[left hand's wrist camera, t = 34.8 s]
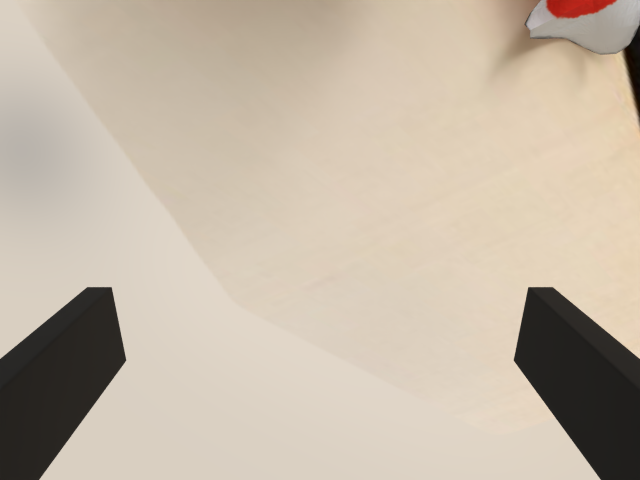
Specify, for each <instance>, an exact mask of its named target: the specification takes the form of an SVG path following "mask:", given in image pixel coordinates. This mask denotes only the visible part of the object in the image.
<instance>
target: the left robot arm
mask: <svg viewBox="0 0 640 480" xmlns="http://www.w3.org/2000/svg"><path fill="white" fill-rule="evenodd" d="M125 361H126V357H125V352H124V347H123V342H122V337H121V332H120V327H119V322H118V317H117V312H116V307H115V302H114V297H113V292H112V288H111V287H87V288H86V289H85V290H83V291H82V292H81V293H80V294H79V295H77V296H76V297H75V298H74V299H72V300H71V301H70V302H69V303H68V304H66V305H65V306H64V307H63V308H62V309H60V310H59V311H58V312H57V313H56V314H54V315H53V316H52V317H51V318H50V319H48V320H47V321H46V322H45V323H43V324H42V325H41V326H40V327H39V328H37V329H36V330H35V331H34V332H33V333H31V334H30V335H29V336H28V337H26V338H25V339H24V340H23V341H22V342H20V343H19V344H18V345H17V346H15V347H14V348H13V349H12V350H11V351H9V352H8V353H7V354H6V355H5V356H3V357H2V358H1V359H0V480H39V479H40V478H41V476H42V475H43V473H44V472H45V471H46V470H47V468H48V467H49V465H50V464H51V463H52V461H53V460H54V459H55V457H56V456H57V454H58V453H59V452H60V450H61V449H62V448H63V446H64V445H65V443H66V442H67V441H68V439H69V438H70V437H71V435H72V434H73V433H74V431H75V430H76V428H77V427H78V426H79V424H80V423H81V422H82V420H83V419H84V418H85V416H86V415H87V413H88V412H89V411H90V409H91V408H92V407H93V405H94V404H95V403H96V401H97V400H98V398H99V397H100V396H101V394H102V393H103V392H104V390H105V389H106V387H107V386H108V385H109V383H110V382H111V381H112V379H113V378H114V376H115V375H116V374H117V372H118V371H119V370H120V368H121V367H122V366H123V364H124V363H125ZM514 361H515V363H516V364H517V366H518V367H519V368H520V370H521V371H522V372H523V374H524V375H525V377H526V378H527V379H528V381H529V382H530V383H531V385H532V386H533V387H534V389H535V390H536V392H537V393H538V394H539V396H540V397H541V398H542V400H543V401H544V403H545V404H546V405H547V407H548V408H549V409H550V411H551V412H552V413H553V415H554V416H555V418H556V419H557V420H558V422H559V423H560V424H561V426H562V427H563V428H564V430H565V431H566V433H567V434H568V435H569V437H570V438H571V439H572V441H573V442H574V444H575V445H576V446H577V448H578V449H579V450H580V452H581V453H582V454H583V456H584V457H585V459H586V460H587V461H588V463H589V464H590V465H591V467H592V468H593V470H594V471H595V472H596V474H597V475H598V476H599V478H600V479H601V480H640V359H639V358H638V357H637V356H635V355H634V354H633V353H632V352H631V351H629V350H628V349H627V348H626V347H625V346H623V345H622V344H621V343H620V342H618V341H617V340H616V339H615V338H614V337H612V336H611V335H610V334H609V333H608V332H606V331H605V330H604V329H603V328H601V327H600V326H599V325H598V324H597V323H595V322H594V321H593V320H592V319H591V318H589V317H588V316H587V315H586V314H584V313H583V312H582V311H581V310H580V309H578V308H577V307H576V306H575V305H574V304H572V303H571V302H570V301H569V300H568V299H566V298H565V297H564V296H563V295H561V294H560V293H559V292H558V291H557V290H555V289H554V288H553V287H528V292H527V297H526V302H525V307H524V312H523V317H522V322H521V327H520V332H519V337H518V342H517V347H516V352H515V357H514Z"/></svg>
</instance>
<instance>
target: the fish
mask: <svg viewBox="0 0 640 480" xmlns="http://www.w3.org/2000/svg"><path fill="white" fill-rule="evenodd" d="M639 24H640V0H541V1H540V2H539V3H538V4H537V6H536V7H535V8H534V9H533V11H532V12H531V13H530V15H529V17H528V19H527V20H526V22H525V25H526V26H527V27H528V28H529V30H530V38H535V39H550V38H560V39H568V40H570V41H572V42H574V43H575V44H577V45H580V46H582V47H584V48H586V49H588V50H590V51H592V52H595V53H598V54H601V55H603V54H616V53H618V52H620V51H621V50H623V49H624V48H625V47H626V46H628V45H629V44H630V42H631V41H632V39H633V37H634V36H635V34H636V31H637V29H638V27H639Z"/></svg>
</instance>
